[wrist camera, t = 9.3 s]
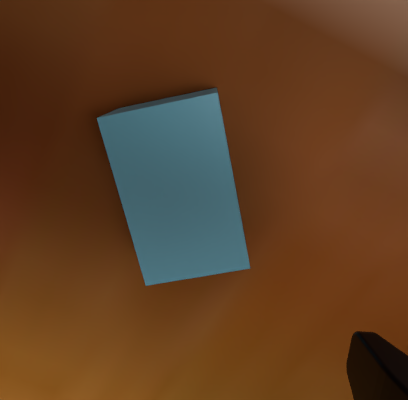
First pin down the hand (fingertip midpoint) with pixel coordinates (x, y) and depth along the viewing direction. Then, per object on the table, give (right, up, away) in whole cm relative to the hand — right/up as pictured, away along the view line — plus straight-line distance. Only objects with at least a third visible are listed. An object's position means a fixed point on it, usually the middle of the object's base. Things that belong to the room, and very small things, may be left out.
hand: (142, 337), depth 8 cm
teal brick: (0, +4, +12) cm, 13 cm away
